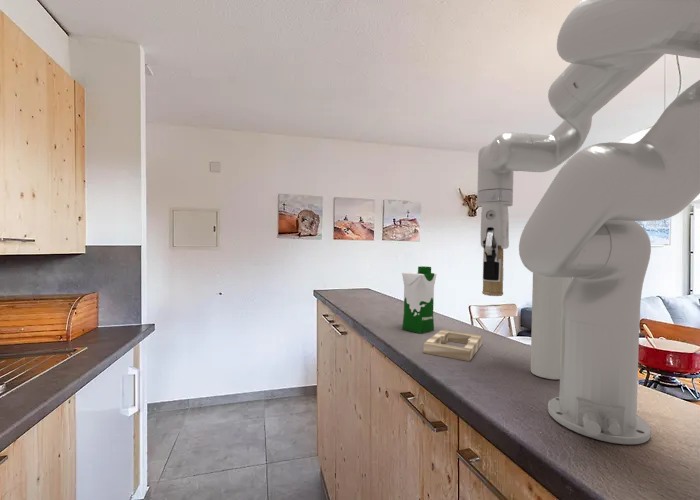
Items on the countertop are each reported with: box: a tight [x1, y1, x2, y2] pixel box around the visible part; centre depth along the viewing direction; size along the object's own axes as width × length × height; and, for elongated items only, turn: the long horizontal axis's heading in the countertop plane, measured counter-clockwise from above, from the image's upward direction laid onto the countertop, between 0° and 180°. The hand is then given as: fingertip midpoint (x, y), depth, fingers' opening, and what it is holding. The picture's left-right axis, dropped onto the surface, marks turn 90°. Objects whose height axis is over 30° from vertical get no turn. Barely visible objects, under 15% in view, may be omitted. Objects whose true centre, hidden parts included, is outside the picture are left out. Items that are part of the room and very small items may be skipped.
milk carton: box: [401, 265, 437, 334], centre depth 106 cm, size 9×9×20 cm
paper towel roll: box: [530, 272, 573, 380], centre depth 70 cm, size 7×6×21 cm
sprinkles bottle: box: [481, 241, 504, 297], centre depth 78 cm, size 5×5×14 cm
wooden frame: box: [422, 329, 483, 362], centre depth 88 cm, size 16×11×2 cm
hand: (492, 278), depth 78 cm, fingers closed on sprinkles bottle, 4 cm apart
